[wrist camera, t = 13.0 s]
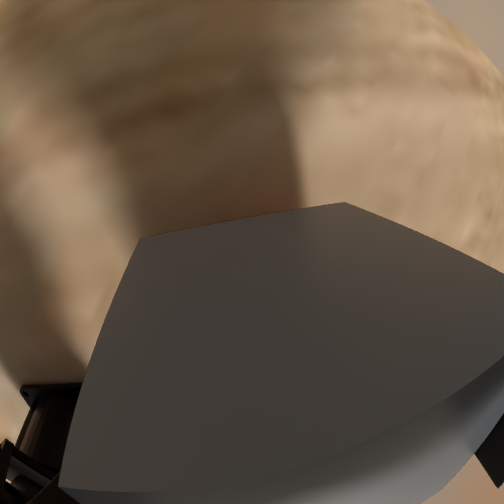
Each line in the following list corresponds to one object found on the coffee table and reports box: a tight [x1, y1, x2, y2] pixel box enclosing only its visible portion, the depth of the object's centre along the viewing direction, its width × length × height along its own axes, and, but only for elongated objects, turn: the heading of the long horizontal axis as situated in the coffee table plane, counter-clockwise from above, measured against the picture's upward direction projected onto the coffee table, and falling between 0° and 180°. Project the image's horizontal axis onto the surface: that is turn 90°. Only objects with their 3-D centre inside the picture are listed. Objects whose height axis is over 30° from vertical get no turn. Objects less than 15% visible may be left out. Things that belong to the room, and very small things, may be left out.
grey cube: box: [58, 202, 504, 504], centre depth 8 cm, size 8×8×9 cm
